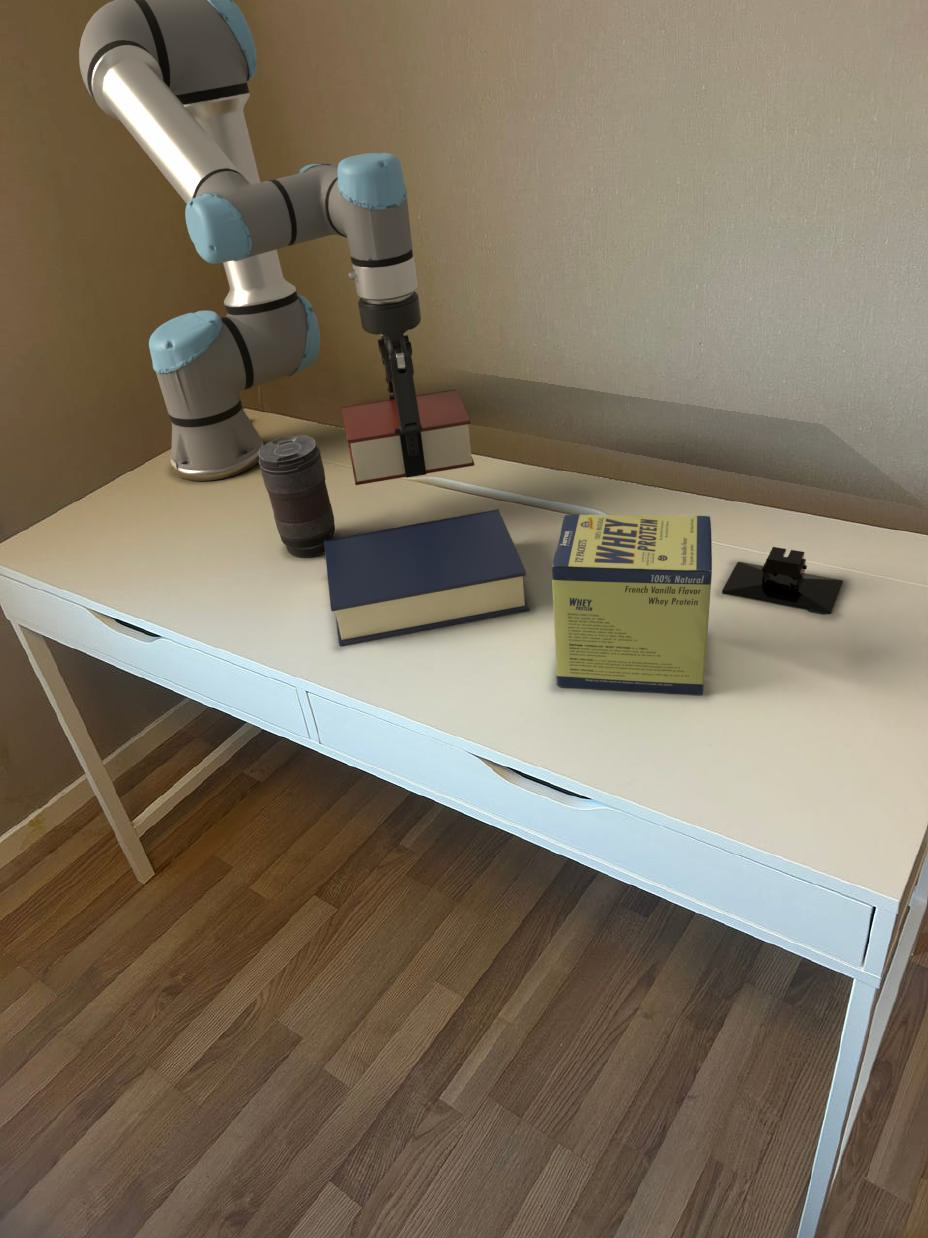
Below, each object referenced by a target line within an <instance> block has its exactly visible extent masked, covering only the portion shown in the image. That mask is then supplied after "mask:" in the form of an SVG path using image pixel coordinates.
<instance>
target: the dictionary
mask: <svg viewBox="0 0 928 1238" xmlns="http://www.w3.org/2000/svg"><path fill="white" fill-rule="evenodd" d="M416 399H417V405H418V411H419V417H420V424H421V425H422V432H421V437H422V445H423V452H424V460H425V468H426V475H428V474H432V473H438V472H444V471H450V470H456V469H461V468H462V469H463V468H469V467H474V466H475V461H474V458H473V455H472V448H471V440H470V439H471V437H470V428H469V425H471V419H470V416H469V415H468V412H467V410H466V408H465V406H464V404H463V401H462V399H461V397H460V394H459V393H458V390H457V389H456V388H454V389H448V390H447V389H446V390H441V391H435V392H428V393H422V394H416ZM341 412H342V415H343V416H342V417H343V424H344V428H345V435H346V440H347V444H348V451H349V455H350V461H351V467H352V473H353V479H354V484H355V486H360V485H365V484H366V485H367V484H372V483H378V482H385V481H389V480H390V481H391V480H396V479H402V478H406V475H405V469H404V462H403V455H402V448H401V441H400V434H397V435H395V429H399V427H400V425H399V419H398V413H397V408H396V402H395V399H385V400H384V399H383V400H377V401H372V402H367V403H359V404H352V405H346V406H342V407H341Z"/></svg>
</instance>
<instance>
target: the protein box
mask: <svg viewBox="0 0 928 1238" xmlns="http://www.w3.org/2000/svg"><path fill="white" fill-rule="evenodd" d="M712 545H713V542H712V520H711V516H709V515H625V514H624V515H623V514H622V515H621V514H618V515H617V514H564V516H563V518H562V523H561V527H560V534H559V538H558V541H557V544H556V549H555V553H554V555H553V560H552V563H551V584H552V587H551V588H552V606H553V608H552V609H553V627H554V645H555V647H554V648H555V667H556V668H555V669H556V671H555V672H556V673H555V674H556V675H555V676H556V677H555V679H556V686H557V687H561V688H575V689H577V688H578V689H593V690H594V689H595V690H610V691H628V692H644V693H646V692H647V693H659V694H677V695H691V696H692V695H693V696H694V695H695V696H702V695H703V693H704V684H705V673H706V672H705V671H706V660H707V659H706V658H707V657H706V656H707V645H708V644H707V643H708V631H709V618H710V606H711V605H710V604H711V592H712V591H711V590H712V577H713V547H712Z"/></svg>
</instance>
